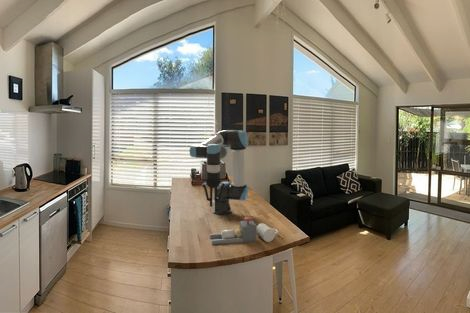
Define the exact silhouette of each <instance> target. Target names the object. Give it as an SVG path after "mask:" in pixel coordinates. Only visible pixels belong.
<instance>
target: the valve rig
mask: <svg viewBox="0 0 470 313" xmlns="http://www.w3.org/2000/svg"><path fill="white" fill-rule="evenodd" d="M257 226H258V225H257V224H256V223H255V222H254V220H253V217H251V216H245V217H243V220H239V229H238V228H236V229H234V232H235V238H231V239H222V237H221V232H219V233H209V240H210V243H211V245H222V244H236V243H237V244H239V243H240V244H241V243H251V242H253V243H254V242H257V234H256V232H257Z"/></svg>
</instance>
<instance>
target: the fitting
mask: <svg viewBox="0 0 470 313" xmlns="http://www.w3.org/2000/svg"><path fill="white" fill-rule="evenodd" d="M220 233H221V237H222V239H231V238H235V229H234V228H233V229H232V228H231V229H221V232H220Z"/></svg>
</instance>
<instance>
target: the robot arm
mask: <svg viewBox="0 0 470 313" xmlns="http://www.w3.org/2000/svg"><path fill="white" fill-rule="evenodd" d="M248 145H249V137H248V133H247V131H245V130H241V129H239V130H237V129H225V130H220V131H216V132H215V133H214V134H212V135H211V136H210V138H208V139H206V140H204V141H202V142H201V143H200V144H198V145H197V144H191V146H190V147H189V155H190V157H191V158H197V159H206V180H205V182H204V183H202V184H201V186H202V187H203V189H204V193H205V197H206V200H207V201H208V202H209V207H210V208H211V213H212V214H216V215H227V214H230V213H231V212H232V207H231V204H230V200H233V201H240V202H242V201H246V200H247V198H248V194H249V188H250V186H249V185H247V182H246V181H245V150H246V149H247V147H248ZM227 147H229V149H230V151H231V153H232V154H231V155H232V156H231V157H232V181H231V183H230V181H222V180H221V159H224V158H226V157H227V156H228V149H227ZM207 186H208V188H209V192H208V190H207ZM213 191H214V192H213ZM208 193H209V194H208ZM213 196H214V197H213Z"/></svg>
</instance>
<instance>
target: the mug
mask: <svg viewBox="0 0 470 313" xmlns="http://www.w3.org/2000/svg"><path fill="white" fill-rule="evenodd" d="M256 226H257V232H256V236H258V237H260V238H261V239H262V240H264V241H265V242H266V243H270V242H272V241H273V240H274V239H275V237H276V235H278V233H279V230H277V229H275V228H272V227H270V226H268V225H267V224H265V223H258V225H256Z"/></svg>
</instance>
